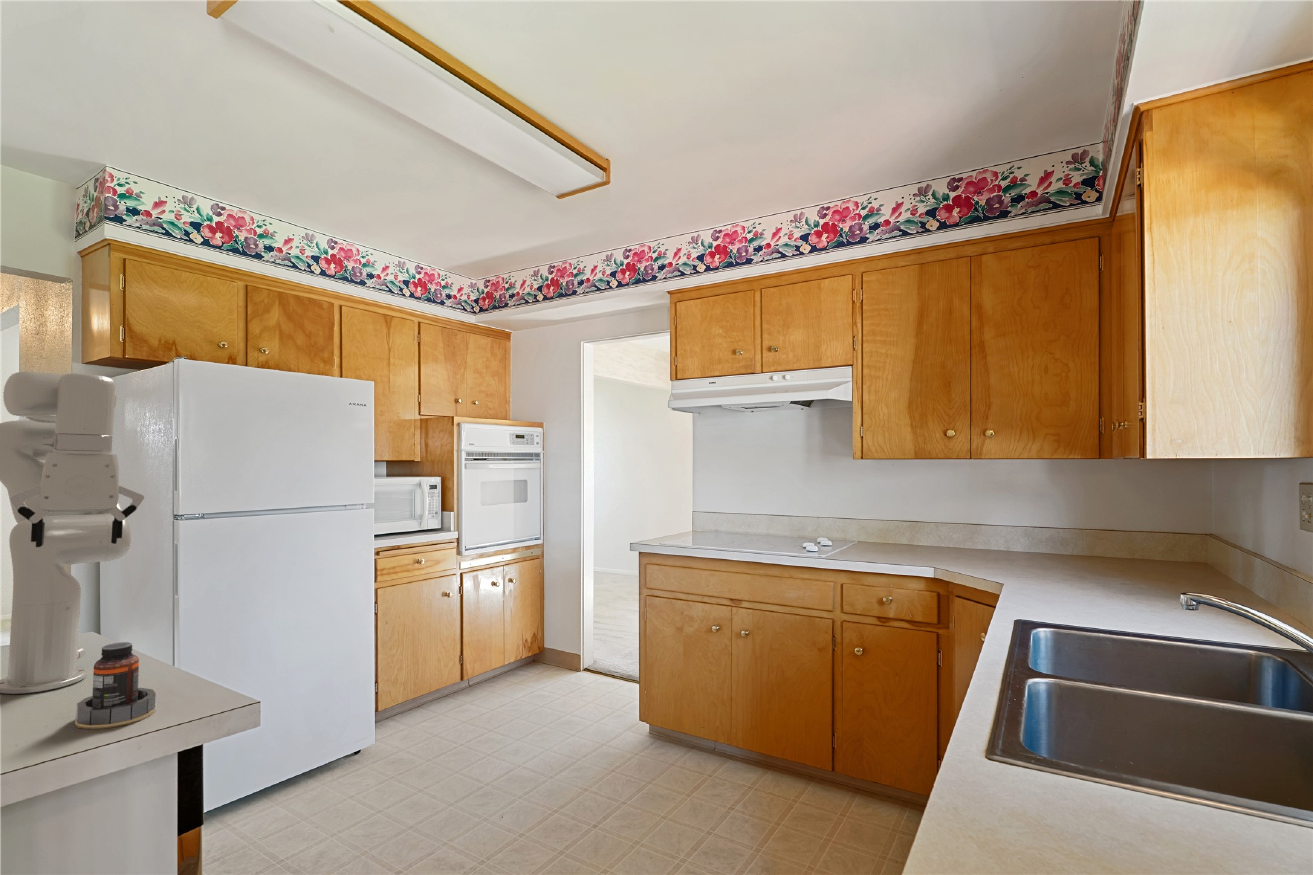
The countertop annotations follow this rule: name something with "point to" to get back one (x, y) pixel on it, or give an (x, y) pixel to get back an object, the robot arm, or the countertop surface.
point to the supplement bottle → (115, 676)
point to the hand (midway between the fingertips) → (77, 544)
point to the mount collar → (115, 712)
